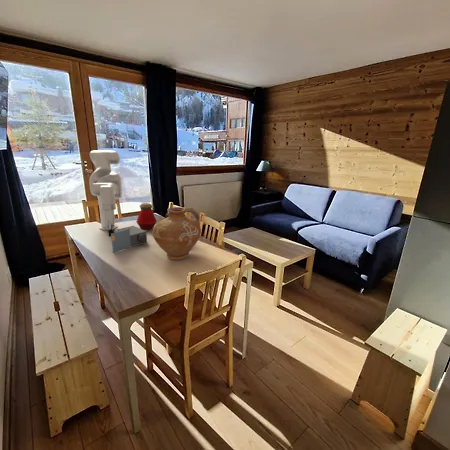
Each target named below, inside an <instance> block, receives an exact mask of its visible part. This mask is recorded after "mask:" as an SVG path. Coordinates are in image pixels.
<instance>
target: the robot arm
mask: <svg viewBox="0 0 450 450" xmlns="http://www.w3.org/2000/svg"><path fill="white" fill-rule="evenodd" d="M89 158H90V160H91V162H92V164H93V165H94V167H95V170H94V171H93V172H92V173H91V175H89V179H88V182H89V183H88V185H89V191H90V193H91V195H92V196H95V197H97V202H98V207H99V215H100V217H99V218H100V225H99V230H101V231H103V230H104V231H107V232H108V233H107V234H108V237H110V238H111V233H114V232H115V229H116V228H118V225H117V224H116V222H115V217H116V216H115V210H116V209H117V206H116V200H120V199H122V197H123V192H122V191H123V190H122V178H121V175H120V174H119V173H118V172H112V167H111V166H112V165H119V164H120V158H121V157H120V154H119V152H118V151H116V150H91V151H90V152H89Z"/></svg>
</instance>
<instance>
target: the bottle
mask: <svg viewBox="0 0 450 450" xmlns="http://www.w3.org/2000/svg"><path fill="white" fill-rule="evenodd" d="M139 208H140V212H139V214H138V216H137V218H136V221H135V222H136V224H137V225H138V228H140V229H142V230H145V231H151V230H152V231H153V229H154V227H155V225H156V224H157V223H158V222H157V221H158V220H157V218H156V216H155V214H154V212H153V210H152V209H153V205H152V204H151V203H149V202H142V203H141V204H139Z"/></svg>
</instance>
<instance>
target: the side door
mask: <svg viewBox="0 0 450 450" xmlns="http://www.w3.org/2000/svg"><path fill="white" fill-rule="evenodd" d="M110 239H111V247H112V253H113V254H116V253H118V252H121V251H124V250H126V249H129V248H132V247H131V242H130V229H129V228H128V229H125V230H121V231H118V232H117V231H114V233H111V237H110Z"/></svg>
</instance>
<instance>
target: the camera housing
mask: <svg viewBox="0 0 450 450" xmlns="http://www.w3.org/2000/svg"><path fill="white" fill-rule="evenodd" d="M128 228H129V229H130V242H131V247H130V248H132V247H136V246H138V245H143V244H146V243H148V237H147V236H148V234H147V230H142V229H141V228H140V227H139V226H138V227H137V226H135V225H130V226H126V227H121V228H118V229H117V230H116V232H118V231H121V230H125V229H128Z"/></svg>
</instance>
